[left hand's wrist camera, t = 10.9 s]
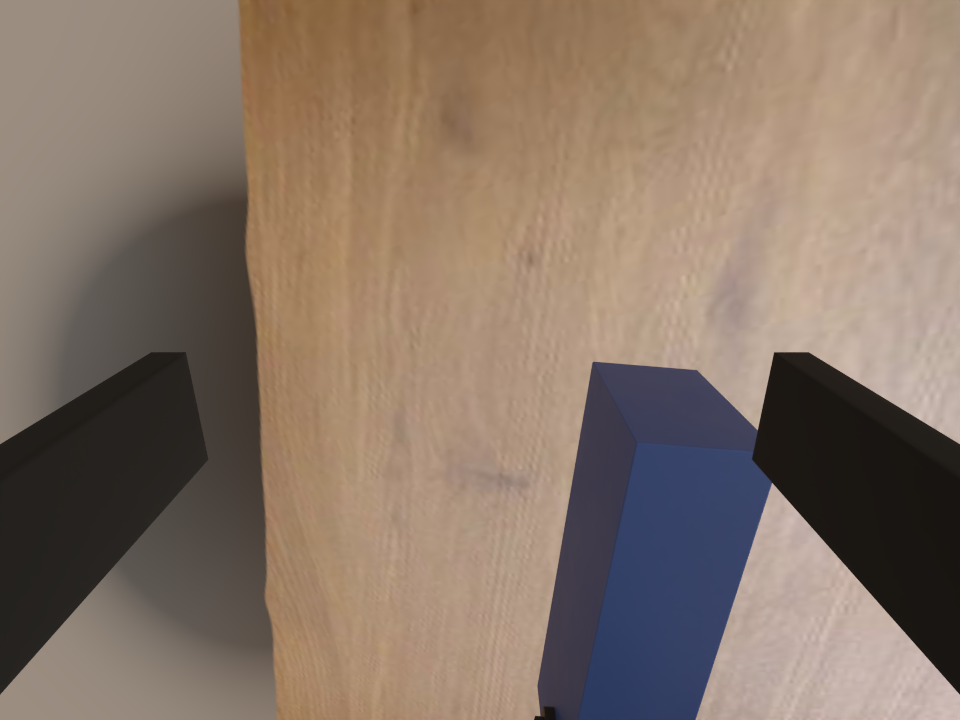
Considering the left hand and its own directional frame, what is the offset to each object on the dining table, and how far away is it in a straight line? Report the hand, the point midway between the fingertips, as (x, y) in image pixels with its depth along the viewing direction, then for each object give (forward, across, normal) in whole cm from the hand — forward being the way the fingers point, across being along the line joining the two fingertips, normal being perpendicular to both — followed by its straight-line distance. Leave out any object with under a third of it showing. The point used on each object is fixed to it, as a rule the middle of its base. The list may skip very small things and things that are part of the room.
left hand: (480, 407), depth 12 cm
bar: (+16, +8, -18) cm, 25 cm away
